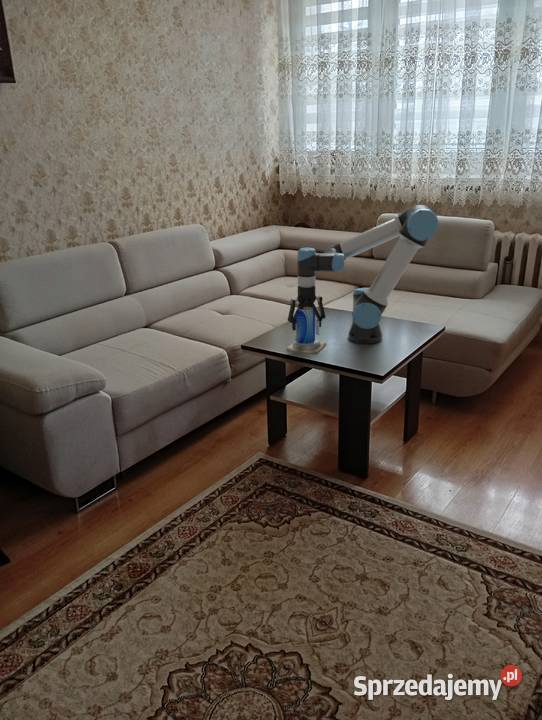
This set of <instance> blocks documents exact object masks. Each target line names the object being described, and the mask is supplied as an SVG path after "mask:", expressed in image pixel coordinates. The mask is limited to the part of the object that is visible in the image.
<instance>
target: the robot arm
mask: <svg viewBox="0 0 542 720" xmlns="http://www.w3.org/2000/svg"><path fill="white" fill-rule="evenodd" d="M438 227H439V220H438V216H437V215H436V213H435V211H433V209H432V208H430V207H429V206H427V205H426V204H416V205H413V206H411V207H410V208H408V209H406V210H403V211H402V212H399V213H397V214H396V215H395V217H394V218H393V219H390V220H388V221H386V222H383V223H381V224H379V225H377V226H375V227H372V228H370V229H368V230H365V231H363V232H361V233H359V234H357V235H355V236H353V237H350V238H348V239H346V240H343V241H341V242H339V243H336V244H334V245H329V246H327V247H326V248H325V249H324V251H323V253H318V252H316V249H315V248H314V247H301V248H299V249H297V259H296V260H297V261H296V262H297V264H296V265H297V267H296V268H297V296H296V298H291V299H290V307H289V312H288V316H287V321H288V323H291V329H292V331H293V337H294V338H295V339H296V338H297V324H296V315H295V313H296V311H297V310H298V309H300V310H303V308H304V307H313V310H314V312H315V335H317V336H320V328H321V327H322V321H323V320H324V319H326V312H325V308H324V305H323V296H321V295H317V296H316V272H317V273H318V272H320V273H321V272H326V273H330V272H331V273H339V272H344V270H345V260H348V259H350V258H352V257H355V256H357V255H360V254H361V253H364V252H366V251H368V250H371V249H373V248H375V247H378V246H380V245H383V244H384V243H386V242H389V241H391V240H393V239H396V238H398V237H399V238H398V241H397V242H396V243H395V244H394V247H393V248H392V250H391V252H389V255H388V257H387V258H386V260H385V262H384V264H383V265H382V267H381V269H380V270H379V272H377V275H376V277H375V278H374V279H373V282H372V283H371V285H370V287H361V288H359V287H358V288H355V289H354V290H353V292H352V293H353V294H352V316H351V317H352V322H351V326H350V328H349V331H348V335H347V336H348V337H347V338H348V340H349V341H350V342H351V343H356V344H364V345H366V344H367V345H368V344H371V345H372V344H376V343H380V342H381V341H382V340H383V331H382V329H381V325H380V322H381V320H382V316H383V314H384V312H385V310H386V309H387V307H388V305H389V303H388V298H389V297H390V295H391V293H392V292H393V290H394V289H395V287H396V285H397V284H398V282H399V280H401V277H402V276H403V274H404V273H405V271H406V270H407V268H408V266H409V265H410V264H411V261H412V260H413V258H414V256H415V255H416V254H417V251H418V250H419V249H421V248H424V247H425V246H426V244H427V243H428V241H429V240H430V239H431V238H432V237H433V236H434V235H435V234H436V233H437V231H438ZM315 302H317V305H318V309H319V311H318V309H317V307H316V305H315ZM297 304H298V305H297ZM296 305H297V308H298V309H297V308H296Z"/></svg>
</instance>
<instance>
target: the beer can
mask: <svg viewBox="0 0 542 720" xmlns="http://www.w3.org/2000/svg"><path fill="white" fill-rule="evenodd" d="M297 309H298V307H297V308H296V310H297ZM296 310H295V312H296V313H295V312H294V314H295V315H296V324H297V338H296V337H295V340H296V342H297V344H298V345H300V346H310V345H312V344H313V343H314V342H315V339H316V334H315V319H316V315H315V312H314V310H313V307H304V308H303V310H300V309H298V310H297V311H296Z"/></svg>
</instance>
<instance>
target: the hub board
mask: <svg viewBox="0 0 542 720" xmlns="http://www.w3.org/2000/svg"><path fill="white" fill-rule="evenodd" d="M326 346H327V342H324V341H321V340H319V339H316V338H315V342H314V343H313V344H312V345H310V346H300V345H298V344H297V342H296V339H294V340H293V342H292V343H290V345H289V346H287V347H286V351H292V352H298V353H299V352H300V353H306V354H307V353H308V354H316V355H318V354H319V353H320V352H321V351H322V350H323V349H324V348H325V347H326Z"/></svg>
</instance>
